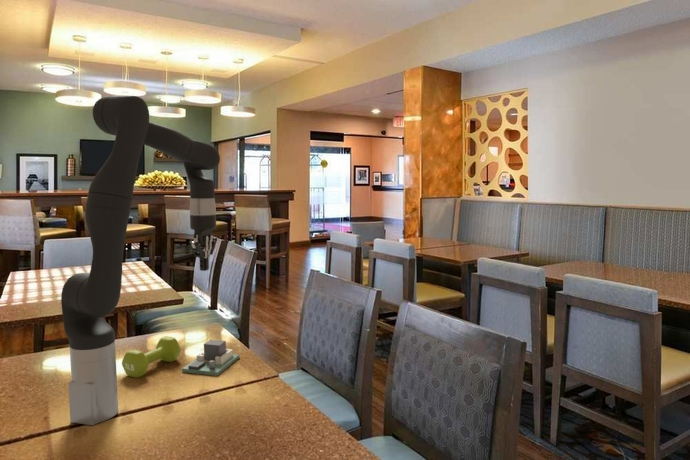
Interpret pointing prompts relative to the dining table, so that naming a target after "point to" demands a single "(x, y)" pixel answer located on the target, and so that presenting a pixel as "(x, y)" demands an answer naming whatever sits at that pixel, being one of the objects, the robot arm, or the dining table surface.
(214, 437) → the dining table surface
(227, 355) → the board
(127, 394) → the dining table surface
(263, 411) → the dining table surface
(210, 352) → the plug
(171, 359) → the dumbbell
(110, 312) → the robot arm
